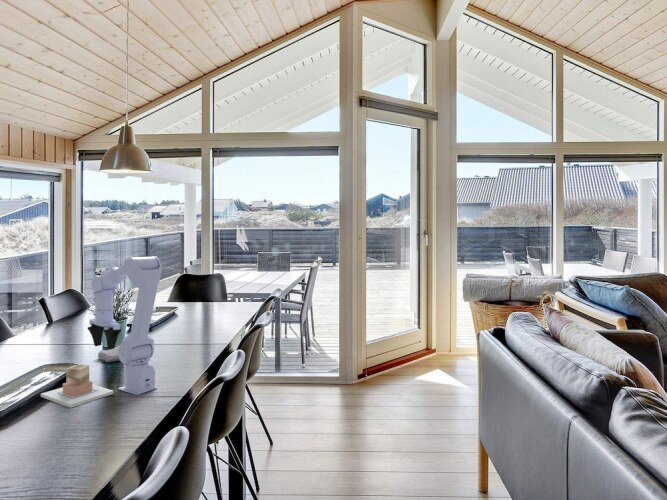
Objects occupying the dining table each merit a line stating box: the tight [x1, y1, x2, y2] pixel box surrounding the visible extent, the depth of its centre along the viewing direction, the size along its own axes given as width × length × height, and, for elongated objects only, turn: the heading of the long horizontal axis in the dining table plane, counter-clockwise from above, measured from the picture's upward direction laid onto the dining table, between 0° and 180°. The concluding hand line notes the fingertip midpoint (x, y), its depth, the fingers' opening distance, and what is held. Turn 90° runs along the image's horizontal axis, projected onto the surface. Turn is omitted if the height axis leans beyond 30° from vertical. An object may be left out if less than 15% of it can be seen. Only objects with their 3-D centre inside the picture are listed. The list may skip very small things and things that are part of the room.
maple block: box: [65, 364, 90, 385], centre depth 152 cm, size 5×5×5 cm
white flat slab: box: [40, 380, 115, 408], centre depth 152 cm, size 16×14×4 cm
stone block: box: [97, 344, 121, 363], centre depth 194 cm, size 12×5×10 cm
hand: (104, 347), depth 171 cm, fingers open, 7 cm apart
